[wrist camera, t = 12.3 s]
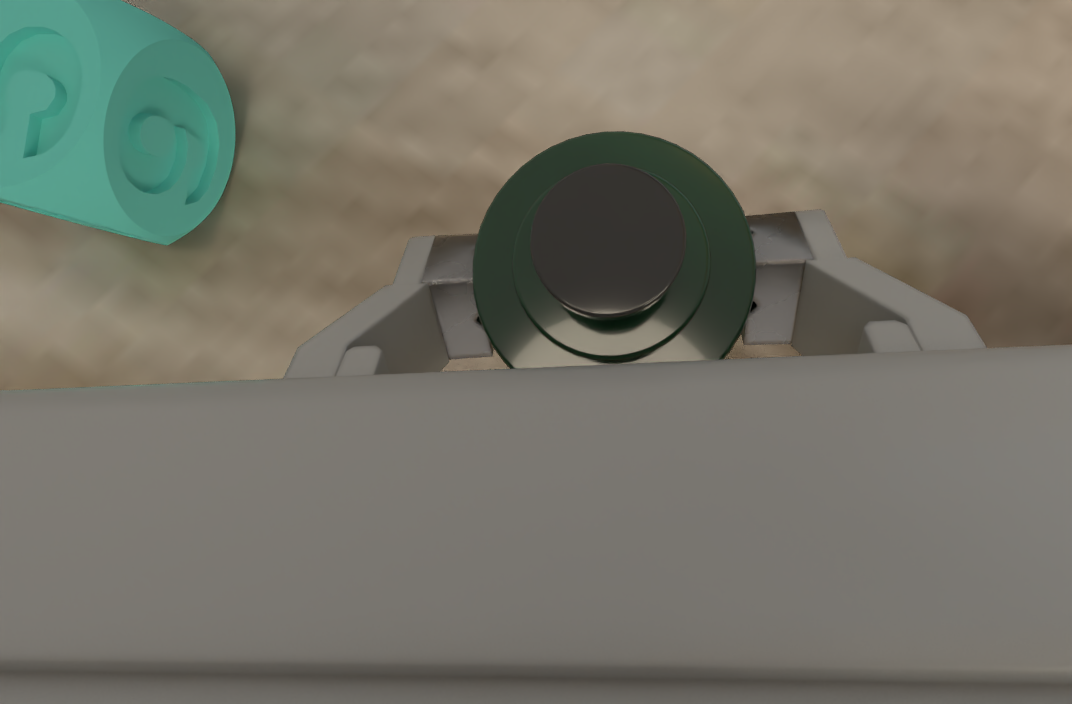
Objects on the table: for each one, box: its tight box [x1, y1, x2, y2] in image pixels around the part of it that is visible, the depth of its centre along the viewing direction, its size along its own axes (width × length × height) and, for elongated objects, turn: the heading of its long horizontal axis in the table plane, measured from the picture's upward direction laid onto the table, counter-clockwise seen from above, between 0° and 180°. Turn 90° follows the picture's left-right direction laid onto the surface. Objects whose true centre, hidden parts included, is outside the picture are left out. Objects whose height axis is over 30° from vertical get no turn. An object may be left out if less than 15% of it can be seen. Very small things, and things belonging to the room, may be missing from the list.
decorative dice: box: [0, 0, 235, 245], centre depth 28 cm, size 8×8×8 cm
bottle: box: [472, 131, 756, 369], centre depth 13 cm, size 5×5×9 cm
